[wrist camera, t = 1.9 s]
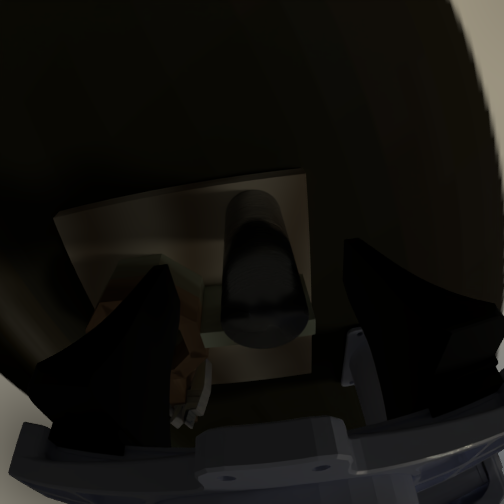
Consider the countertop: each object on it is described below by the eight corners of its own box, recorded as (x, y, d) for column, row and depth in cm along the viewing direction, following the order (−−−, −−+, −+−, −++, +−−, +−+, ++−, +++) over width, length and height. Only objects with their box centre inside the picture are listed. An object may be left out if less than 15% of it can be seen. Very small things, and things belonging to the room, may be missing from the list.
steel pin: (278, 185, 17) (308, 279, 10) (283, 235, 18) (309, 342, 12) (221, 193, 17) (212, 292, 10) (230, 242, 18) (229, 353, 12)
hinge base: (302, 167, 17) (324, 205, 13) (309, 363, 26) (319, 412, 22) (59, 210, 18) (21, 253, 13) (143, 378, 27) (134, 424, 23)
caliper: (206, 349, 24) (202, 420, 19) (212, 357, 25) (210, 426, 19) (47, 386, 28) (31, 432, 22) (54, 391, 28) (38, 438, 23)
